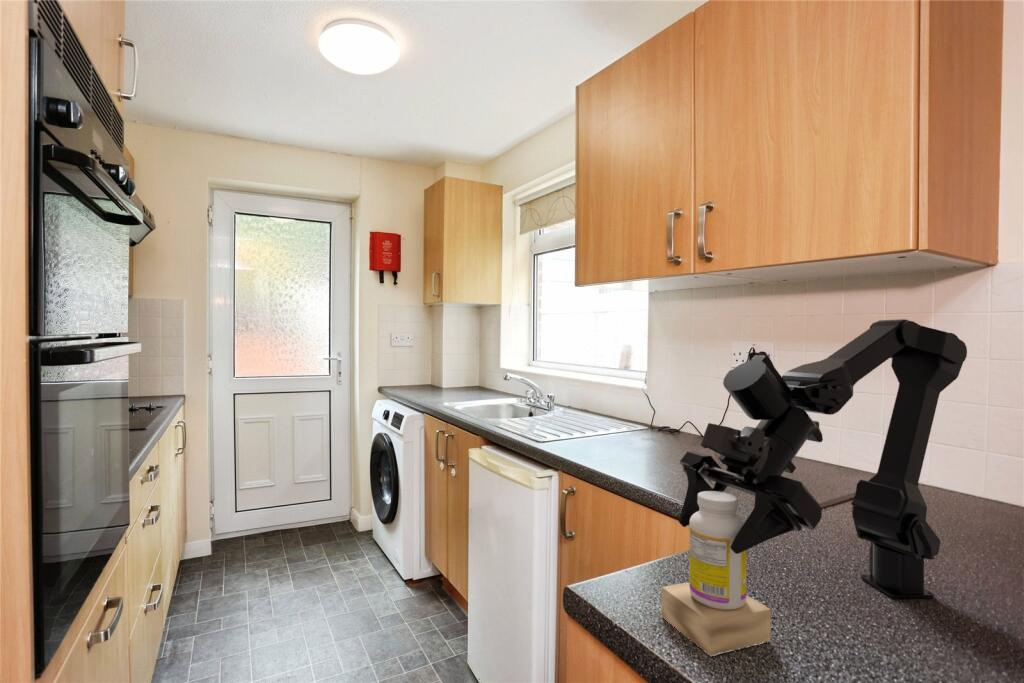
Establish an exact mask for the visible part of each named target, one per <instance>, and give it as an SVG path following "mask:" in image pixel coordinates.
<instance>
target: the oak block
mask: <svg viewBox="0 0 1024 683" xmlns="http://www.w3.org/2000/svg"><path fill="white" fill-rule="evenodd" d="M689 582H690V581H689ZM689 582H688V581H687V582H683V583H676V584H670V585H666V586H661V617H662V619H663V618H664V619H665V620H666V621H667V622H668V624H669V623H670V624H671V625H672V626H673V627H672V626H671V625H670V624H669V625H670V626H671V627H672V628H674V627H675V628H676V629H677V630H679V633H680V632H681V633H682V634H683V635H684V637H685V636H686V637H687V638H689V639H690V640H691V641H693V642H694V643H695V644H697V645H698V646H699V647H701V648H702V649H703V650H705V651H706V652H707V653H708V654H710V655H712V654H716V653H719V652H726V651H729V650H734V649H738V648H741V647H745V646H750V645H754V644H759V643H762V642H766V641H770V642H771V633H772V632H771V630H772V629H771V624H772V623H771V617H772V616H771V614H772V613H771V608H769V607H767V606H766V605H764V604H763V603H761V602H760V601H758V600H756V599H754V598H753V597H751V596H749V595H747V594H746V602H745V604H744V605H743V606H742V607H740V608H737V609H732V610H722V609H715V608H711V607H708V606H706V605H704V604H702V603H700V602H698V601H697V600H696V599H694V598H693V596H692V595H691V593H690V585H689ZM664 619H663V620H664ZM665 620H664V621H665ZM666 621H665V622H666ZM667 622H666V623H667ZM675 628H674V629H675ZM676 629H675V630H676ZM677 630H676V631H677ZM681 633H680V634H681ZM682 634H681V635H682ZM683 635H682V636H683ZM686 637H685V638H686ZM687 638H686V639H687ZM690 640H689V641H690ZM691 641H690V642H691Z"/></svg>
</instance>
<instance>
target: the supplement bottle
mask: <svg viewBox="0 0 1024 683" xmlns="http://www.w3.org/2000/svg"><path fill="white" fill-rule="evenodd" d="M738 500H739V499H738V497H737V496H735V495H734V494H732V493H728V492H725V491H723V492H718V491H703V492H700V493H698V501H697V503H698V505H699V507H700V508H699V511H698V512H696V513H694V514H693V515H692V516H691V518H690V524H689V525H688V526H689V574H688V575H689V576H688V577H689V585H690V593H691V595H692V596H693V598H694V599H696V600H697V601H698V602H700V603H702V604H704V605H706V606H708V607H711V608H715V609H722V610H732V609H737V608H740V607H742V606H743V605H744V604H745V602H746V595H747V550H745V551H743V552H741V553H739V554H736V553H734V552H733V551H732V550H731V545H732V543H733V541H734V539H735V537H736V535H737V534H738V532H739V531H740V529H741V528H742V526H743V525H744V523H745V521H744V520H743V519H742V518H741V517H740V516H738V515H737V511H738V508H739V504H738V503H739V501H738Z"/></svg>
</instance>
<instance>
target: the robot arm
mask: <svg viewBox="0 0 1024 683" xmlns="http://www.w3.org/2000/svg"><path fill="white" fill-rule="evenodd" d="M967 357H968V348H967V344H966V343H965V341H964V340H962V339H960V338H959V337H958V336H957V335H956V334H955V333H953V332H948V331H945V330H944V331H943V330H940V329H936V328H932V327H928V326H925V325H921V324H919V323H917V322H915V321H912V320H909V319H906V318H903V319H880V320H877V321H876V322H872V324H871V325H870V326H869V328H868V329H867V330H865V331H864V332H863V333H860V335H858V336H857V337H855V338H854V339H853V340H850V341H849V342H848V343H847V344H845V345H844V346H842V347H841V348H839V349H838V350H836V351H835V352H834V353H832V354H830V355H829V356H827V357H826V358H824V359H821V360H818V361H815V362H809V363H805V364H802V365H799V366H796V367H794V368H792V369H790V370H789V369H788V370H787V371H786V372H785V373H784V374H783V375H781V374H780V373H779V371H778V370H777V368H776V367H775V366H774V364H773V362H772V360H771V358H770V357H769V356H768V355H754V356H753V357H752V358H751V359H750V360H749V361H746V362H745V361H744V362H743V363H741V364H739V365H737V366H736V367H734V368H733V369H730V370H729V371H728V372H727V373H726V375H725V376H724V378H723V381H722V383H723V384H722V385H723V387H724V388H725V389H726V391H727V392H728V394H729V395H730V396H731V397H732V398H733V400H734V401H735V402H736V403H737V405H738V407H740V409H742V412H744V414H745V415H746V416H747V417H748V418H750V419H751V420H754V421H759V423H758V424H757V425H756V427H752V426H748V425H747V426H744V427H743V428H742V429H741V430H740V429H737V428H733V427H730V426H725V425H720V424H716V423H711V422H709V423H708V424H707V425H706V429H705V432H704V434H703V437H702V439H701V443H700V447H702V448H703V449H710V450H711V451H713V452H714V453H716V454H719V456H718V458H717V459H718V460H719V461H720V462H721V464H723V465H725V466H726V469H724V468H722V467H721V466H720V465H719V463H717V461H716V460H715V459H714V458H713V456H712V455H708V454H706V453H703V452H699V451H695V450H693V451H692V450H691V451H690V450H689V451H686V452H685V454H684V456H683V457H682V458H681V459H680V460H679V464H680V465H681V466H682V471H683V473H684V474H685V476H686V477H687V490H686V494H685V498H684V501H683V505H682V508H681V513H680V516H679V519H678V523H679V524H680V525H681V527H682V528H686V527H687V526H689V524H690V518H691V516H692V515H693V514H694V513H696V512H698V511H699V508H700V507H699V505H698V503H697V501H698V493H700V492H703V491H718V492H725V491H726V489H727V487H729V488H733V489H735V490H738V491H741V492H744V493H747V494H749V495H752V496H754V506H753V509H752V510H751V512H750V514H748V515H749V516H748V517H747V518H746V520H745V521H744V525H743V526H742V528H741V529H740V531H739V532H738V534H737V535H736V537H735V539H734V541H733V543H732V545H731V550H732V551H733V552H734V553H736V554H739V553H741V552H743V551H745V550H746V551H747V550H749V549H751V548H754V547H756V546H757V545H760V544H762V543H764V542H766V541H769V540H772V539H774V538H776V537H779V536H782V535H785V534H787V533H790V532H792V531H796V532H799V533H800V532H801V531H802V530H803V528H806V529H808V530H811V531H813V530H815V529H816V528H817V526H818V524H819V522H820V521H821V520H822V518H823V517H822V516H823V515H822V512H823V510H822V506H821V505H820V504H819V503H818V501H817V500H816V499H815V497H814V496H813V495H812V494H811V492H810V491H809V490H808V488H807V487H806V486H805V485H804V484H803V482H802V481H799V480H796V479H793V478H789V477H786V476H783V474H784V473H789V474H791V475H792V474H793V473H794V472H795V470H796V469H797V467H796V466H795V464H794V463H793V462H792V461H793V459H794V458H795V457H796V455H797V454H798V453H799V451H800V449H801V448H802V447H803V445H804V444H805V443H806V441H810V442H816V443H822V442H823V440H824V439H823V433H822V431H821V429H820V422H819V421H817V420H813V419H812V418H811V417H810V415H809V414H808V413H813V414H822V415H829V416H830V415H835V414H837V413H839V412H840V411H841V409H842V408H843V407H845V405H846V404H847V403H848V402H849V401H850V400H851V399H852V398H853V396H854V387H855V385H856V384H857V383H858V382H860V380H862V379H863V378H865V377H866V376H868V375H869V374H870V373H872V372H873V371H874V370H875V369H877V368H878V367H879V366H881V365H882V364H884V363H885V362H887V360H889V359H891V366H890V367H891V369H892V370H893V371H892V372H893V373H894V375H895V377H896V379H897V382H898V388H897V392H896V397H895V401H894V404H893V408H892V412H891V417H890V419H889V420H890V421H889V425H888V428H887V432H886V437H885V440H884V445H883V449H882V452H881V456H880V460H879V464H878V468H877V472H876V474H874V475H873V476H872V477H871V478H869V479H868V480H865V479H860V480H859V481H858V482H857V483H856V486H855V487H856V488H855V495H854V497H853V500H852V501H851V503H850V504H851V505H852V507H851V516H852V519H853V523H854V527H855V531H856V534H857V538H858V539H861V540H864V541H867V542H870V546H869V562H868V563H869V568H868V569H869V574H860V579H862V580H863V581H864V582H865V583H867V584H869V585H870V586H872V587H874V588H875V589H877V590H879V591H880V592H882V593H884V594H885V595H887V596H888V597H890V598H894V599H923V598H925V599H932V598H935V593H933V592H932V591H930V590H928V589H927V588H925V560H935V557H936V556H938V555H939V552H940V546H941V540H940V538H939V537H938V535H937V534H936V532H935V531H934V529H932V527H931V526H930V525H929V523H928V521H927V520H926V519H927V514H928V513H927V511H928V506H927V504H926V502H925V500H924V497H923V495H922V492H921V490H920V488H919V482H920V478H921V473H922V469H923V465H924V461H925V457H926V453H927V452H926V451H927V448H928V444H929V438H930V435H931V432H932V426H933V422H934V418H935V414H936V410H937V406H938V403H939V402H938V401H939V398H940V394H941V393H942V392H943V391H944V390H945V389H946V388H947V387H948V386H949V385H951V384H952V383H953V382H954V381H956V380H957V379H958V378H959V375H960V372H961V370H962V366H963V364H964V362H965V361H966V359H967ZM802 527H803V528H802Z"/></svg>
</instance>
